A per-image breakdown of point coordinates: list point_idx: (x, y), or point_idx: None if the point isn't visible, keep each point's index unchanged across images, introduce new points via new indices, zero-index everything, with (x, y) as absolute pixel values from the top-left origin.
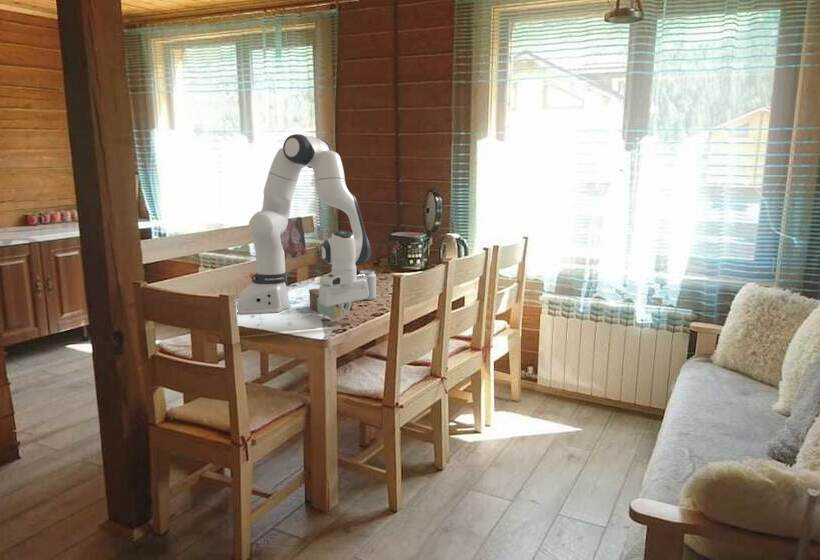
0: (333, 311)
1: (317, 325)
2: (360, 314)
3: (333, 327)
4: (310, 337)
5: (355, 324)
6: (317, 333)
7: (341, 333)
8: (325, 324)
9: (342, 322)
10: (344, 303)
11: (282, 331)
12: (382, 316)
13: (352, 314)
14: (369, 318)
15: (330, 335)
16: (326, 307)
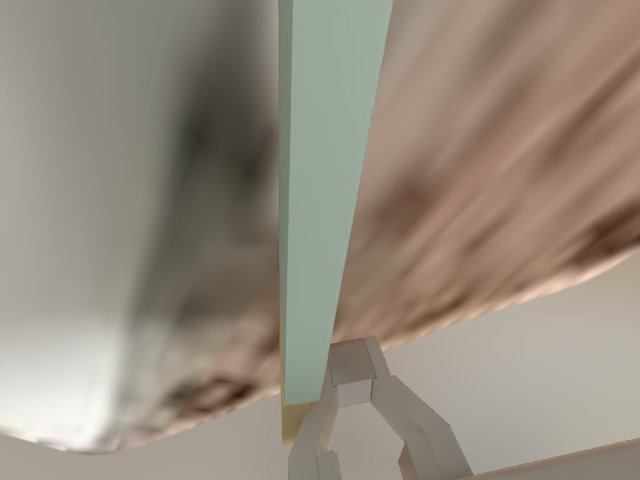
0: (281, 294)
1: (86, 272)
2: (604, 150)
3: (202, 348)
4: (12, 433)
5: None
6: (64, 401)
7: (202, 420)
8: (170, 275)
9: None
10: None
11: None
12: (587, 278)
13: (583, 98)
14: (509, 281)
15: (138, 429)
16: (283, 54)
